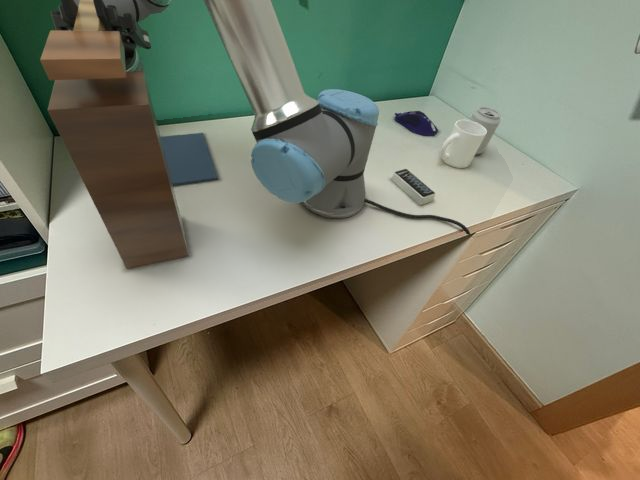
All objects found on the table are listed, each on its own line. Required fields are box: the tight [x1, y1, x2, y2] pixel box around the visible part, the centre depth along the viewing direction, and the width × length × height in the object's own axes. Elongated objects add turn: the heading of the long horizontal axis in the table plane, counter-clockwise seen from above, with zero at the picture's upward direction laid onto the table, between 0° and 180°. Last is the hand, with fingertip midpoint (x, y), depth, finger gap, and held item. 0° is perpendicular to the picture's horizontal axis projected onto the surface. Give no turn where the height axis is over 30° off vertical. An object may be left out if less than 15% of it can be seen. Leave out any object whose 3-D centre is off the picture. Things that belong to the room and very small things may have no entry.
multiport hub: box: [391, 168, 436, 206], centre depth 80 cm, size 4×11×2 cm, turn 31°
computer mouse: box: [394, 110, 439, 137], centre depth 104 cm, size 9×15×4 cm, turn 58°
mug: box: [439, 119, 487, 169], centre depth 89 cm, size 12×8×10 cm
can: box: [470, 106, 502, 156], centre depth 95 cm, size 8×8×12 cm
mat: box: [160, 132, 219, 187], centre depth 78 cm, size 20×12×1 cm, turn 23°
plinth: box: [47, 70, 190, 270], centre depth 50 cm, size 10×10×28 cm
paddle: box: [39, 0, 126, 81], centre depth 41 cm, size 23×7×2 cm, turn 23°
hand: (81, 3), depth 40 cm, fingers closed on paddle, 3 cm apart
